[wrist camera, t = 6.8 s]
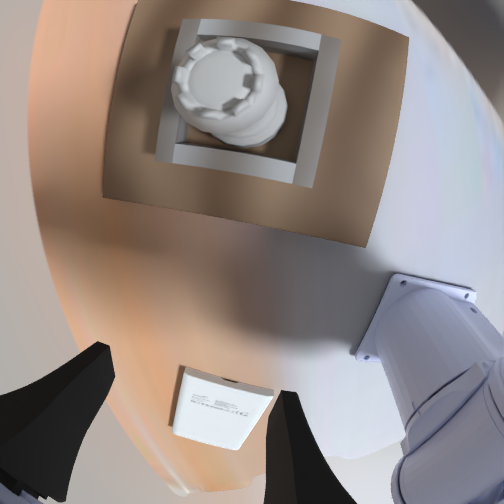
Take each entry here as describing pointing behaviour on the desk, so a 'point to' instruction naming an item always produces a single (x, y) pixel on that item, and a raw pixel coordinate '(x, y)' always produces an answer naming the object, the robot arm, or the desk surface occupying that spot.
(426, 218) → the desk surface
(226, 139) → the rook chess piece
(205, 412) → the external hard drive
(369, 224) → the socket board
